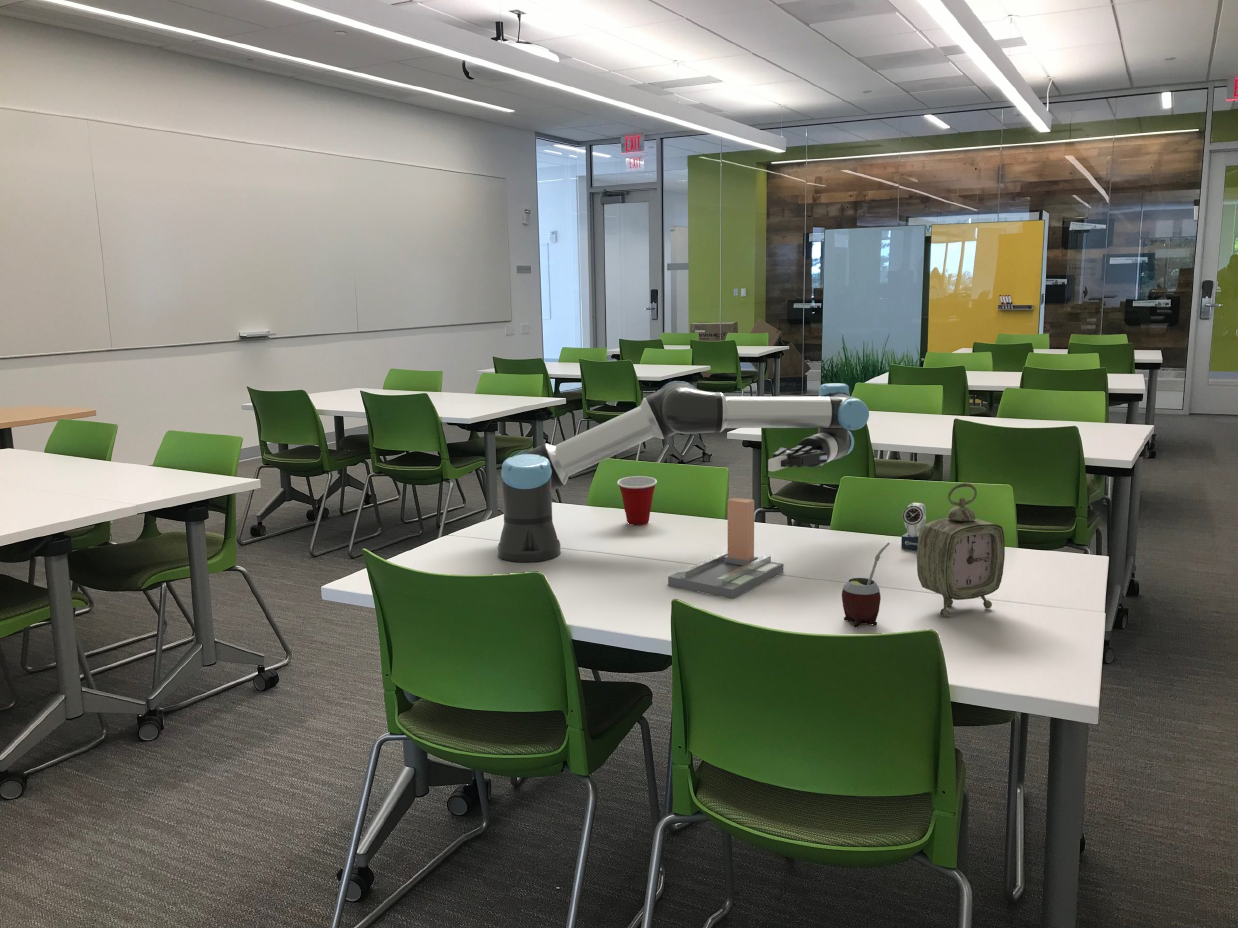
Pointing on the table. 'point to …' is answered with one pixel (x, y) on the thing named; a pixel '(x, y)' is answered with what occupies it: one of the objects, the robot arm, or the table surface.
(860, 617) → the mate gourd
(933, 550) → the tabletop clock
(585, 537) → the table surface
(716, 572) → the switch panel
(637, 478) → the plastic cup
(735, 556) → the switch lever
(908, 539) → the watch
